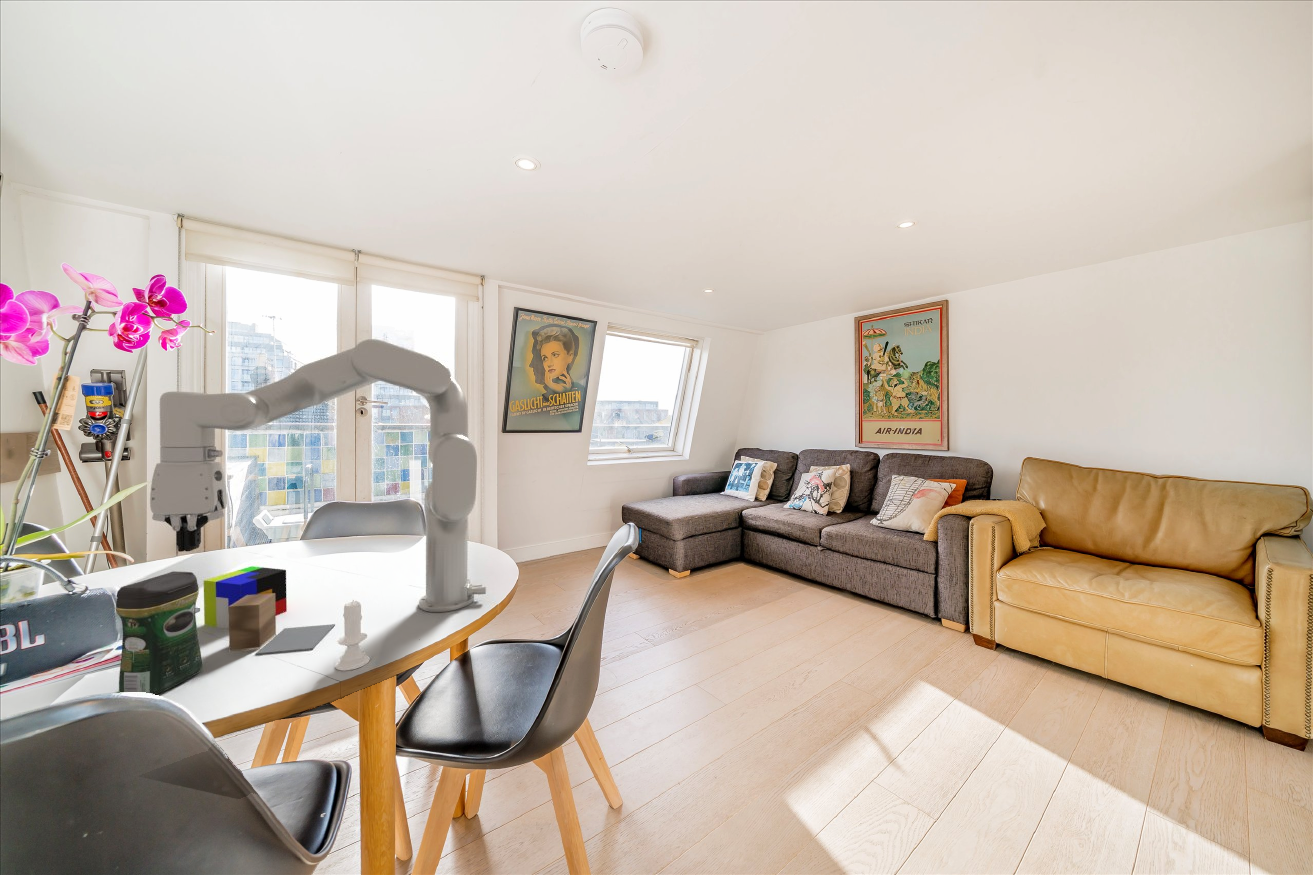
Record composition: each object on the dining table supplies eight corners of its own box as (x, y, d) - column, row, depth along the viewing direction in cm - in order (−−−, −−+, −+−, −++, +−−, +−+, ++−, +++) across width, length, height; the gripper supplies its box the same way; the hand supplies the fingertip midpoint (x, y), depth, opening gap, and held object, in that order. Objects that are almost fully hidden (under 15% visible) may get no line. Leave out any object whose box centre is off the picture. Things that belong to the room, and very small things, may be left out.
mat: (335, 625, 103) (335, 624, 103) (312, 649, 93) (312, 648, 93) (284, 629, 101) (284, 628, 101) (255, 654, 90) (255, 653, 90)
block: (275, 635, 98) (275, 593, 98) (259, 649, 92) (259, 604, 92) (247, 637, 97) (246, 595, 97) (229, 651, 91) (228, 606, 91)
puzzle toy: (241, 630, 100) (240, 584, 100) (204, 625, 102) (203, 580, 102) (286, 611, 110) (286, 569, 110) (252, 607, 112) (251, 566, 112)
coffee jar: (170, 667, 85) (168, 566, 85) (211, 669, 85) (209, 568, 84) (105, 698, 76) (101, 585, 75) (151, 701, 75) (148, 587, 74)
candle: (346, 656, 90) (346, 595, 90) (375, 656, 91) (374, 595, 90) (329, 671, 85) (328, 606, 84) (359, 671, 85) (358, 606, 85)
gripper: (245, 454, 96) (246, 543, 97) (155, 454, 92) (156, 546, 93) (222, 457, 89) (222, 553, 89) (123, 457, 85) (124, 557, 86)
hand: (188, 549), depth 91 cm, fingers closed
